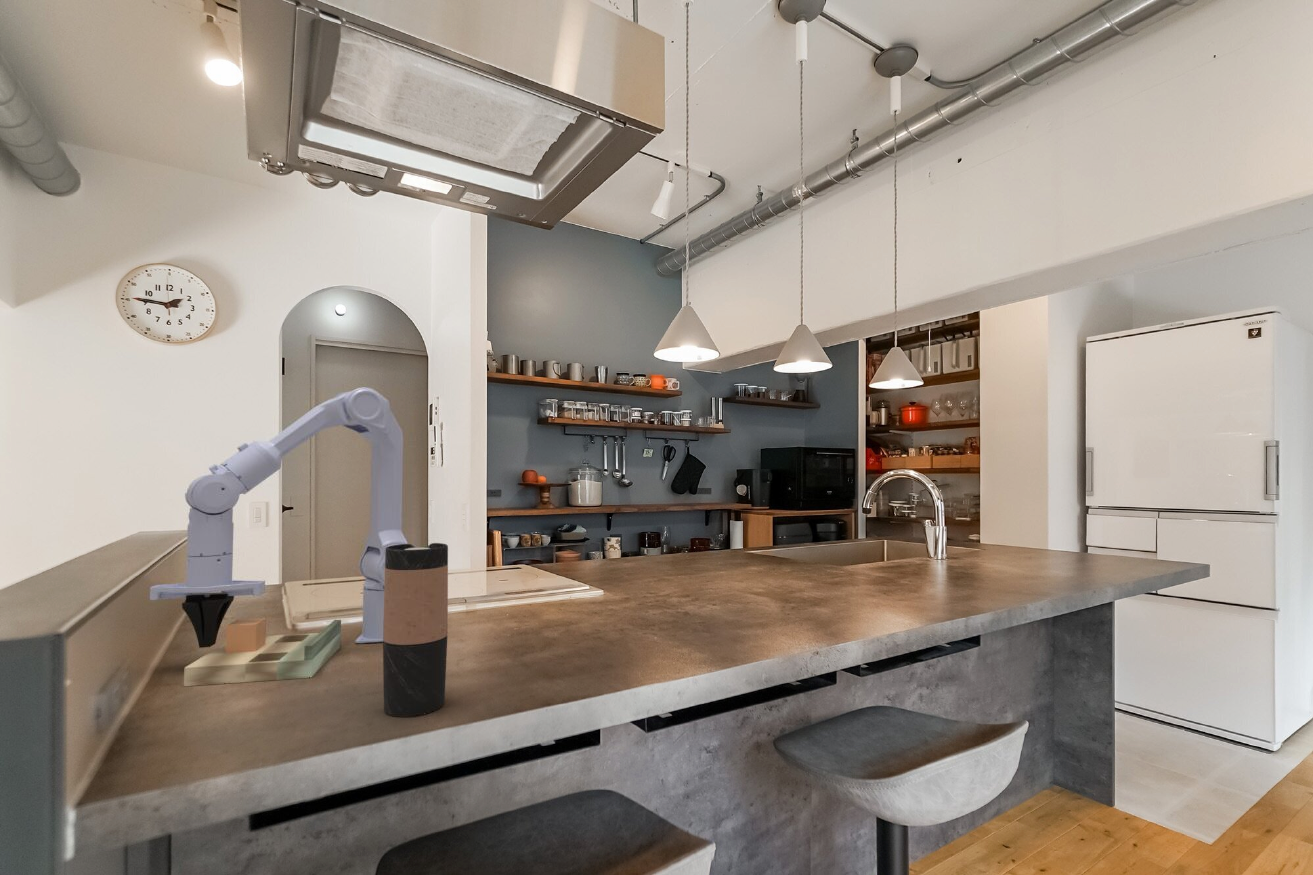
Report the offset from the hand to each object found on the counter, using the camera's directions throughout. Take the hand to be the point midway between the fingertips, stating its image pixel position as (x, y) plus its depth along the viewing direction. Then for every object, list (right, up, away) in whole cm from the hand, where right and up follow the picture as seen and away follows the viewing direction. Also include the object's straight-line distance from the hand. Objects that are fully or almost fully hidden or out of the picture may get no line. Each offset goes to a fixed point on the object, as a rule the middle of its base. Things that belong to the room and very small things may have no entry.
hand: (207, 645), depth 95 cm
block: (+5, -1, +2) cm, 5 cm away
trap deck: (+8, -3, +2) cm, 9 cm away
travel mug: (+37, -3, -15) cm, 40 cm away
